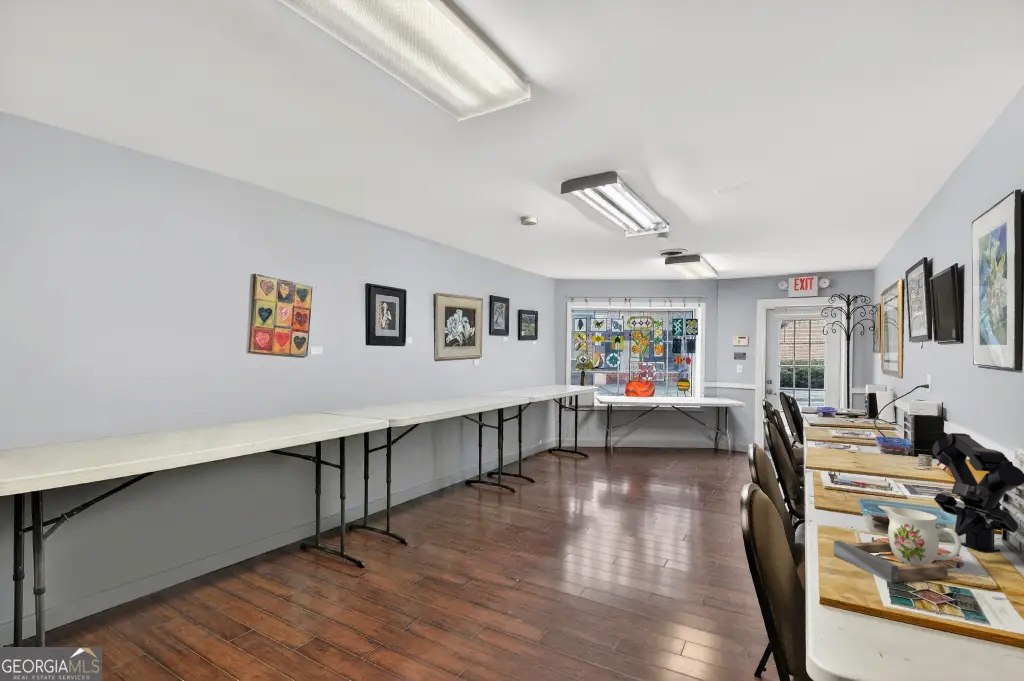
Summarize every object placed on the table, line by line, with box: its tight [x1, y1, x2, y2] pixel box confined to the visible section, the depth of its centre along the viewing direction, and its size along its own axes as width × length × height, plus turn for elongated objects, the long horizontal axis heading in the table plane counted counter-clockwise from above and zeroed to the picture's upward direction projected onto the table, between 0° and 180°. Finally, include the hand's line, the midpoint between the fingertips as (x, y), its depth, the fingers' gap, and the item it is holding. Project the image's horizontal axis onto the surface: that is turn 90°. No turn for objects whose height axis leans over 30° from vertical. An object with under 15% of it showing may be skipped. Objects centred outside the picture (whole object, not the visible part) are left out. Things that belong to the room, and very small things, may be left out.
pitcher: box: [877, 504, 962, 565], centre depth 144 cm, size 11×18×14 cm, turn 45°
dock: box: [833, 540, 949, 583], centre depth 142 cm, size 17×18×4 cm
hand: (956, 534), depth 147 cm, fingers closed
